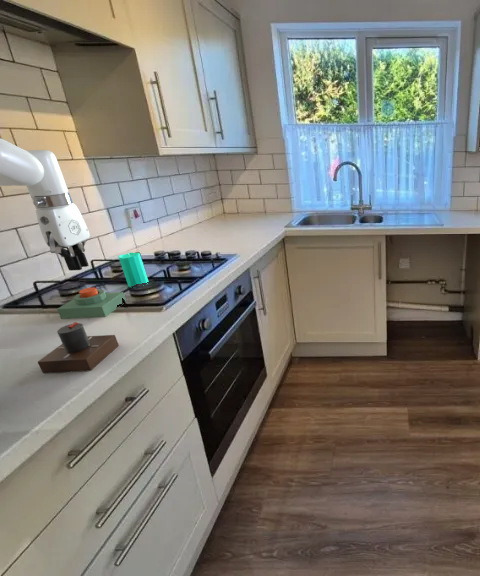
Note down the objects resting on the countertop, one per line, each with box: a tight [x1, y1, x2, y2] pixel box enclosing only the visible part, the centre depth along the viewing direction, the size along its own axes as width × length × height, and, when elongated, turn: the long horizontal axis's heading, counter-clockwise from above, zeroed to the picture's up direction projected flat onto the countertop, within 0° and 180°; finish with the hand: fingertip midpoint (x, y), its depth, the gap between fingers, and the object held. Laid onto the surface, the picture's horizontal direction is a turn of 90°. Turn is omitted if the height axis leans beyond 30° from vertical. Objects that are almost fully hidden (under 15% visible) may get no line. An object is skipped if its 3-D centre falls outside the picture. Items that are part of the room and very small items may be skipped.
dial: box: [56, 321, 90, 353], centre depth 80 cm, size 4×4×5 cm
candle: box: [118, 249, 149, 288], centre depth 121 cm, size 6×6×12 cm
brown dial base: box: [37, 334, 120, 374], centre depth 82 cm, size 10×10×3 cm
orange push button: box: [78, 286, 98, 298], centre depth 103 cm, size 4×4×2 cm
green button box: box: [56, 289, 127, 320], centre depth 104 cm, size 12×10×5 cm
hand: (79, 267), depth 100 cm, fingers closed
